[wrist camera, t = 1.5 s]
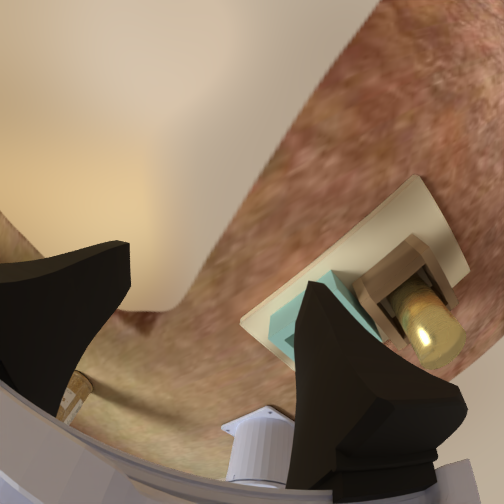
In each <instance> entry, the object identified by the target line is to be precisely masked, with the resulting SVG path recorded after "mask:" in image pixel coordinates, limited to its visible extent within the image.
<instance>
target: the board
mask: <svg viewBox="0 0 504 504" xmlns="http://www.w3.org/2000/svg"><path fill="white" fill-rule="evenodd" d="M411 233H413V234H414V235H415V236H416V237H418V238H419V239H420V240H422V241H423V242H424V243H425V244H427V245H428V246H429V247H430V249H431V250H432V252H433V254H434V255H435V257H436V259H437V261H438V263H439V264H440V266H441V268H442V270H443V272H444V274H445V276H446V278H447V279H448V281H449V283H450V285H451V287H452V288H453V287H454V286H455V285H456V284H457V283H458V282H459V281H460V280H461V279H463V278H464V277H465V276H466V275H467V274H468V273H469V272H470V269H469V266H468V264H467V262H466V260H465V257H464V255H463V253H462V251H461V249H460V247H459V245H458V243H457V241H456V239H455V237H454V235H453V233H452V231H451V229H450V227H449V225H448V223H447V221H446V220H445V218H444V216H443V214H442V212H441V211H440V209H439V207H438V205H437V204H436V202H435V200H434V199H433V197H432V195H431V194H430V192H429V190H428V189H427V187H426V186H425V184H424V183H423V181H422V179H421V178H420V176H418V175H414V174H413V175H412V176H411V177H410V178H409V179H408V180H407V181H406V182H405V183H404V184H402V185H401V186H400V187H399V188H398V189H397V190H396V191H395V192H394V193H393V194H391V195H390V196H389V197H388V198H387V199H386V200H385V201H384V202H382V203H381V204H380V205H379V206H378V207H377V208H376V209H375V210H373V211H372V212H371V213H370V214H369V215H368V216H366V217H365V218H364V219H363V220H362V221H361V222H360V223H358V224H357V225H356V226H355V227H354V228H353V229H351V230H350V231H349V232H348V233H347V234H345V235H344V236H343V237H342V238H341V239H340V240H338V241H337V242H336V243H335V244H334V245H332V246H331V247H330V248H329V249H328V250H326V251H325V252H324V253H323V254H322V255H320V256H319V257H318V258H317V259H315V260H314V261H313V262H312V263H311V264H309V265H308V266H307V267H306V268H304V269H303V270H302V271H301V272H299V273H298V274H297V275H296V276H294V277H293V278H292V279H291V280H289V281H288V282H287V283H286V284H284V285H283V286H282V287H281V288H279V289H278V290H277V291H275V292H274V293H273V294H272V295H270V296H269V297H268V298H266V299H265V300H264V301H263V302H261V303H260V304H259V305H257V306H256V307H255V308H253V309H252V310H251V311H249V312H248V313H247V314H246V315H244V316H243V317H242V318H241V320H240V324H239V325H241V326H242V327H243V328H244V329H245V330H246V331H247V332H249V333H250V334H251V335H252V336H253V337H254V338H256V339H257V340H258V341H259V342H260V343H261V344H263V345H264V346H265V347H266V348H267V349H268V350H270V351H271V352H272V353H273V354H274V355H276V356H277V357H278V358H279V359H280V360H282V361H283V362H284V363H285V364H286V365H288V366H289V367H290V368H291V369H293V370H294V371H295V362H294V361H293V360H292V359H290V358H289V357H288V356H287V355H286V354H285V353H283V352H282V351H281V350H280V349H279V348H278V347H276V346H275V345H274V344H273V343H272V342H271V341H269V340H268V333H269V324H270V316H271V315H272V314H274V313H275V312H276V311H278V310H279V309H280V308H282V307H283V306H284V305H286V304H287V303H288V302H290V301H291V300H292V299H294V298H295V297H296V296H298V295H299V294H300V293H302V292H303V291H304V290H306V287H307V284H308V280H309V281H315V282H316V281H317V280H318V279H320V278H321V277H322V276H323V275H325V274H326V273H327V272H329V271H330V270H332V272H333V273H334V274H335V275H336V276H337V277H338V278H339V280H340V281H341V282H342V283H343V284H344V285H345V286H346V288H347V289H348V290H349V291H350V292H351V293H352V295H353V296H354V297H355V298H356V299H357V300H358V302H359V299H358V297H357V295H356V292H355V290H354V288H353V285H352V283H353V282H354V281H356V280H357V279H358V278H359V277H361V276H362V275H363V274H364V273H366V272H367V271H368V270H369V269H370V268H372V267H373V266H374V265H375V264H377V263H378V262H379V261H380V260H381V259H383V258H384V257H385V256H386V255H387V254H388V253H390V252H391V251H392V250H393V249H394V248H395V247H397V246H398V245H399V244H400V243H401V242H402V241H404V240H405V239H406V238H407V237H408V236H409V235H410V234H411ZM416 272H417V273H418V274H419V275H420V277H421V278H422V279H423V280H424V281H425V282H426V283H427V285H428V286H429V287H431V286H432V284H431V282H430V280H429V278H428V277H427V275H426V273H425V272H424V270H423V268H422V267H421V268H420V269H419V270H417V271H416ZM359 303H360V302H359ZM380 303H381V304H382V305H383V307H384V308H385V309H386V311H387V312H388V313H389V314H390V316H391V317H392V318H393V317H394V316H396V315H395V313H394V311H393V309H392V308H391V306H390V304H389V302H388V301H387V299H386V297H385V298H383V299H382V300H381V301H380ZM374 322H375V321H374ZM375 324H376V327H377V329H378V331H379V334H380V336H381V339H382V342H381V343H384V342H386V341H387V340H388V339H389V338H388V337H387V335H386V334H385V333H384V332H383V330H382V329H381V328H380V327H379V326H378V324H377V323H376V322H375Z"/></svg>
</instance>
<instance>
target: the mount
mask: <svg viewBox="0 0 504 504" xmlns="http://www.w3.org/2000/svg"><path fill="white" fill-rule="evenodd" d="M421 267H422V268H423V270H424V272H425V273H426V275H427V277H428V278H429V280H430V282H431V284H432V286H431V287H430V288H431V289H432V290H433V292H434V293H435V294H436V295H437V296H438V298H439V299H440V300H441V301H442V302H443V304H444V305H445V306H446V307H447V309H448V310H449V311H451V310H452V309H453V308H454V307H456V306H457V305H458V304H459V302H458V300H457V298H456V295H455V293H454V291H453V289H452V287H451V285H450V283H449V281H448V279H447V278H446V276H445V274H444V272H443V270H442V268H441V266H440V264H439V263H438V261H437V259H436V257H435V255H434V254H433V252H432V250H431V249H430V247H429V246H428V245H427V244H425V243H424V242H423V241H422V240H420V239H419V238H418V237H416V236H415V235H414V234H413V233H411V234H410V235H409V236H408V237H407V238H406V239H405V240H404V241H402V242H401V243H400V244H399V245H398V246H397V247H395V248H394V249H393V250H392V251H391V252H390V253H388V254H387V255H386V256H385V257H384V258H383V259H381V260H380V261H379V262H378V263H377V264H375V265H374V266H373V267H372V268H370V269H369V270H368V271H367V272H366V273H364V274H363V275H362V276H361V277H359V278H358V279H357V280H356V281H354V282H353V283H352V285H353V288H354V290H355V292H356V295H357V297H358V299H359V302H360V304H361V305H362V307H363V308H364V309H365V310H366V311H367V312H368V314H369V315H370V316H371V317H372V318H373V320H374V321H375V322H376V323H377V324H378V326H379V327H380V328H381V329H382V330H383V332H384V333H385V334H386V335H387V337H388V338H389V339H390V340H391V342H392V343H393V344H394V345H395V346H396V348H397V349H398V350H399V351H400V350H401V349H403V348H404V347H406V346H407V345H408V344H410V341H409V339H408V337H407V335H406V333H405V332H404V330H403V328H402V326H401V324H400V322H399V320H398V319H397V317H396V316H394V317H393V318H392V317H391V316H390V314H389V313H388V312H387V311H386V309H385V308H384V307H383V305H382V304H381V303H380V301H381V300H382V299H383V298H385V297H386V296H387V295H389V294H390V293H391V292H392V291H394V290H395V289H396V288H397V287H398V286H400V285H401V284H402V283H403V282H405V281H406V280H407V279H408V278H409V277H410V276H412V275H413V274H414V273H415V272H416V271H417V270H419V269H420V268H421Z"/></svg>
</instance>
